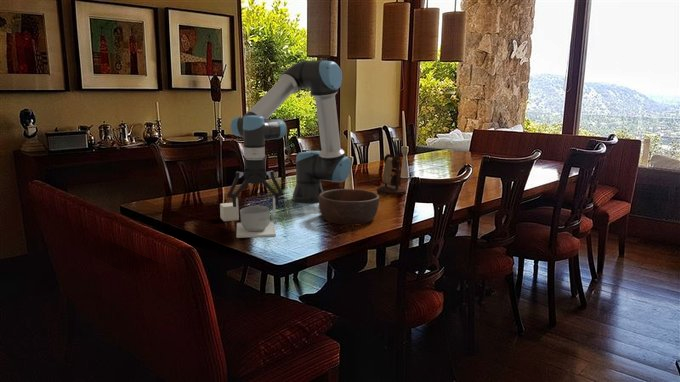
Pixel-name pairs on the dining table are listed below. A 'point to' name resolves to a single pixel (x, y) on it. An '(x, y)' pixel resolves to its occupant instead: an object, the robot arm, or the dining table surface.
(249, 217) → the teacup
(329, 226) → the dining table surface
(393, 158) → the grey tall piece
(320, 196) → the wooden bowl
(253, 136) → the robot arm
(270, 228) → the mat
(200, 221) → the dining table surface
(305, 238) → the dining table surface
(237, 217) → the cream block
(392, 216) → the dining table surface
